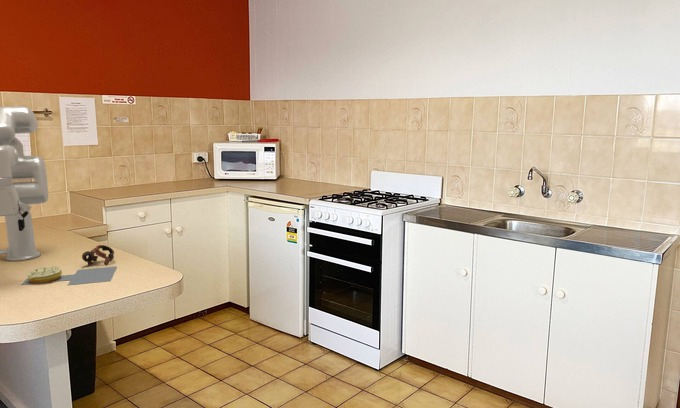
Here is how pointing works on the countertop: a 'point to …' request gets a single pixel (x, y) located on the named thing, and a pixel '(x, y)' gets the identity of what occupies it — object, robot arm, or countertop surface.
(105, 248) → the pottery mug
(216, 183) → the countertop surface
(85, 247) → the countertop surface
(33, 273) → the decorated donut
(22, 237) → the robot arm
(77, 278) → the t mat
